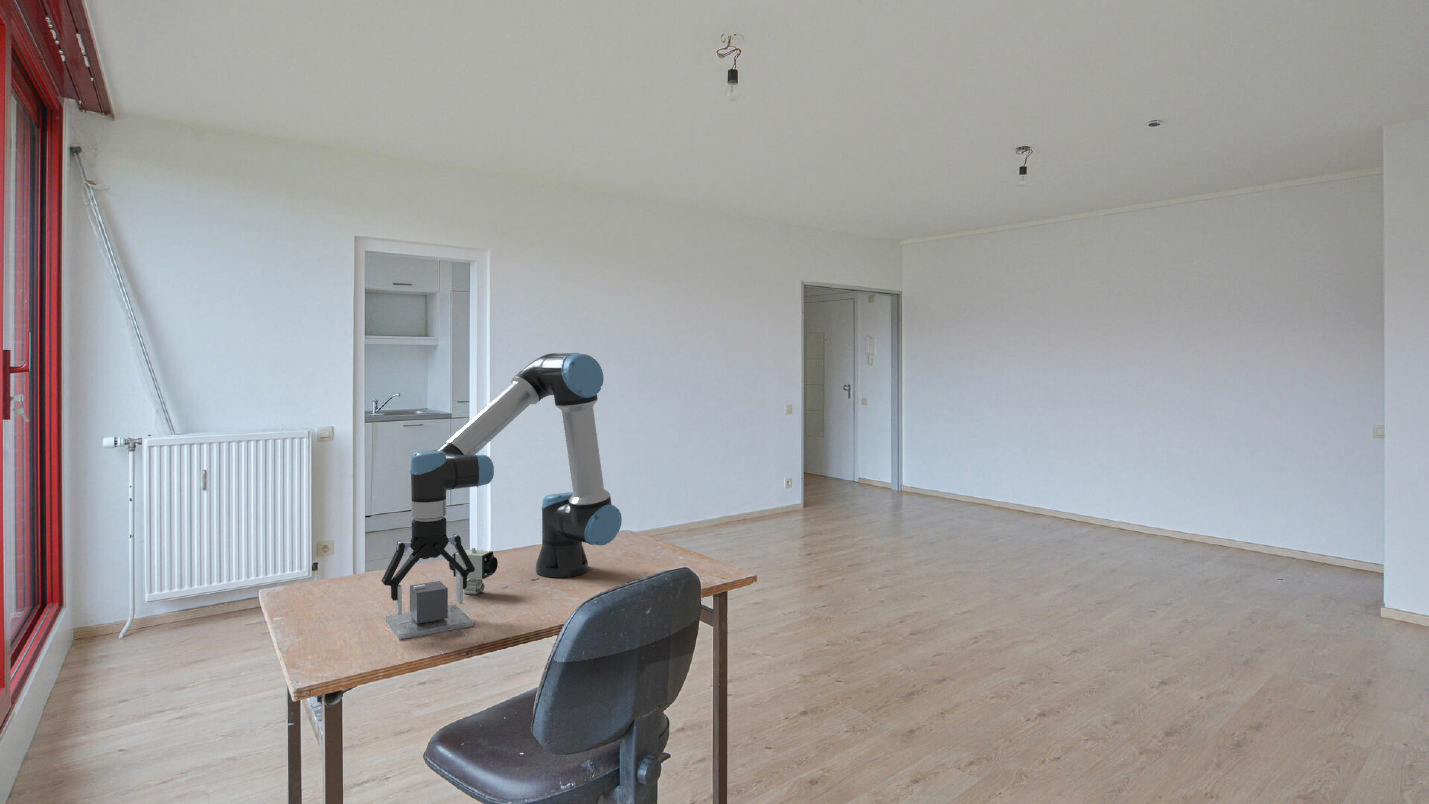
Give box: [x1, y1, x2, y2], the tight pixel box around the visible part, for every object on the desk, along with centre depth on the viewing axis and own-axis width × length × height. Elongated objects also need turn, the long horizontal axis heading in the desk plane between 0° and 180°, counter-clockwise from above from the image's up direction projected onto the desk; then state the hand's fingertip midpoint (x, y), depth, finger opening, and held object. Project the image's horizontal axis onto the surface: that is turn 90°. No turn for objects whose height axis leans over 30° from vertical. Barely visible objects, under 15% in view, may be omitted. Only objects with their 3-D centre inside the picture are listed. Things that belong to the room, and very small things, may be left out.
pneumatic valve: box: [448, 547, 499, 596], centre depth 193 cm, size 6×12×12 cm, turn 78°
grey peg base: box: [385, 603, 474, 641], centre depth 170 cm, size 16×14×7 cm
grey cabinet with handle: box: [409, 580, 449, 623], centre depth 170 cm, size 7×7×8 cm
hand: (430, 608), depth 170 cm, fingers open, 13 cm apart
